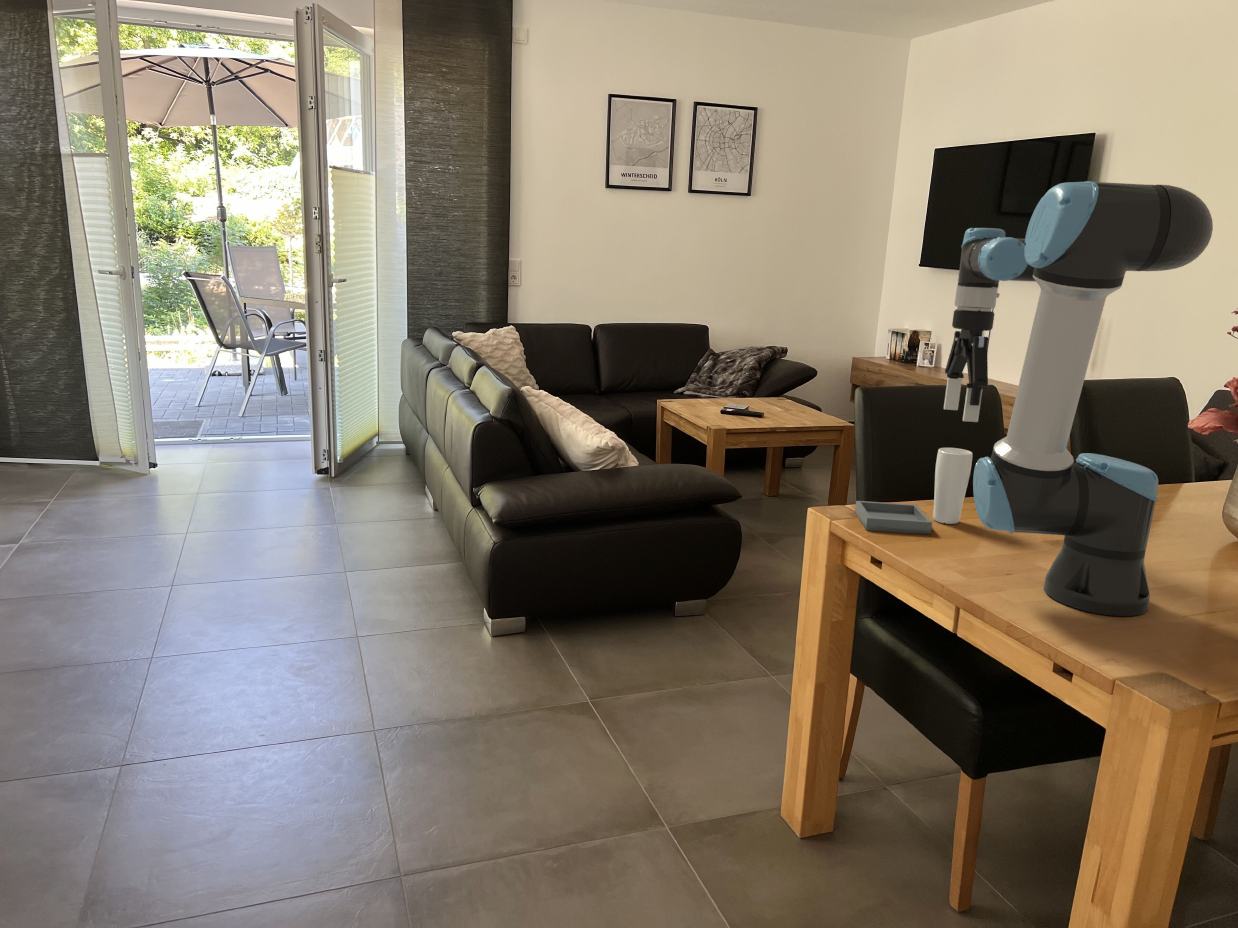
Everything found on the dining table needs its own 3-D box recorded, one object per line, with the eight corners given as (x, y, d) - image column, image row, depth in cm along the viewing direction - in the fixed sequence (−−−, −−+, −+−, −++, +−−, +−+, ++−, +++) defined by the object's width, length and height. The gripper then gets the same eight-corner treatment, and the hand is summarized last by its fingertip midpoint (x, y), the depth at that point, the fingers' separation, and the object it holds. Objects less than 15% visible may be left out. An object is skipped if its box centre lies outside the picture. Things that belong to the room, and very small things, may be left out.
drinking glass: (968, 526, 180) (978, 455, 177) (934, 525, 180) (944, 454, 177) (956, 517, 187) (966, 448, 183) (924, 515, 187) (933, 446, 183)
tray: (930, 534, 174) (932, 522, 173) (865, 530, 175) (867, 518, 174) (915, 516, 186) (916, 504, 186) (854, 512, 187) (856, 500, 187)
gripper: (1016, 314, 161) (999, 428, 166) (974, 306, 185) (961, 406, 190) (974, 312, 162) (958, 425, 167) (938, 305, 186) (925, 404, 191)
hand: (960, 415), depth 178 cm, fingers open, 13 cm apart
